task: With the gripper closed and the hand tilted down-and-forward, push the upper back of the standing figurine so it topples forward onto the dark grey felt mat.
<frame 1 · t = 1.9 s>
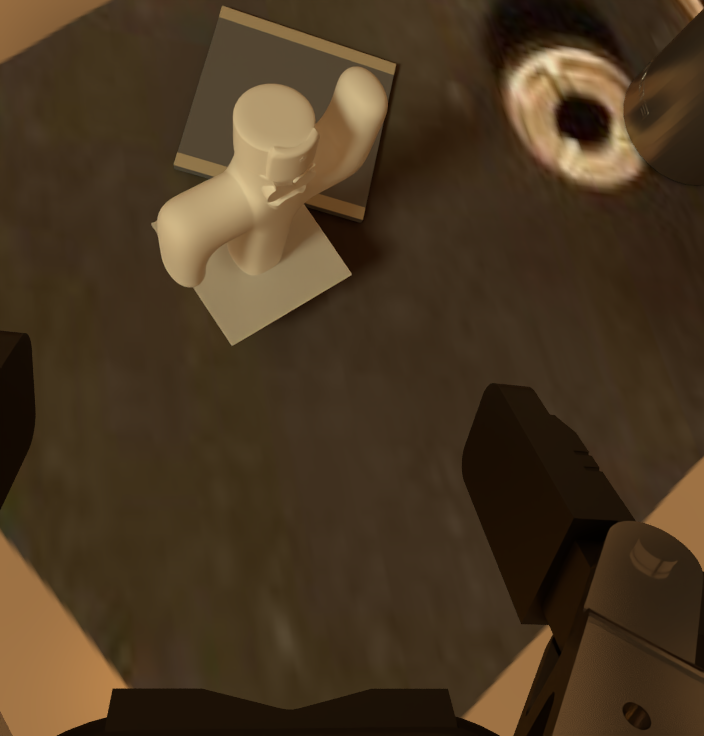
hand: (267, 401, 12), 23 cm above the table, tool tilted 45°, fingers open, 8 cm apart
figurine: (249, 276, 36), on the table
felt mat: (290, 115, 39), on the table
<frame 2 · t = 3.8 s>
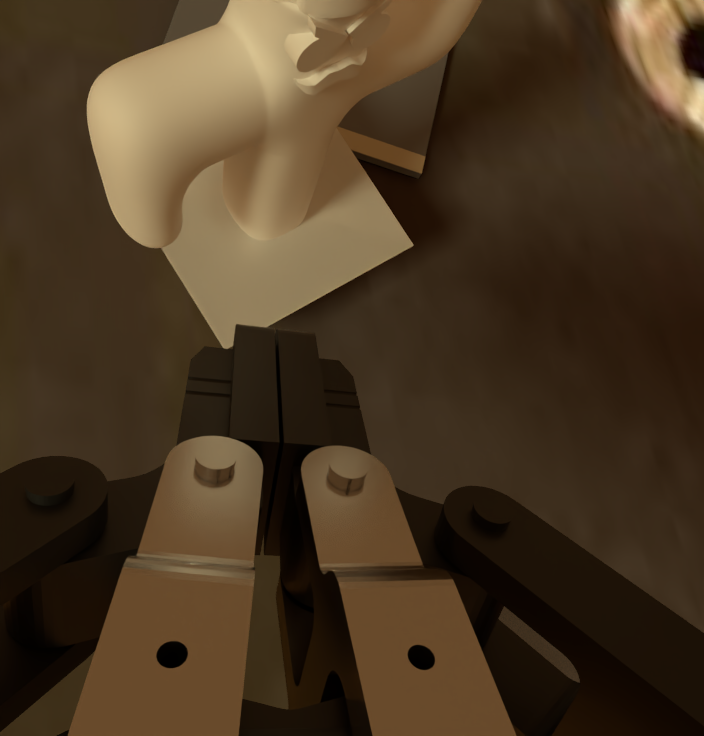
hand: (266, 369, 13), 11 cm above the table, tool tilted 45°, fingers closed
figurine: (255, 249, 25), on the table
felt mat: (320, 25, 27), on the table
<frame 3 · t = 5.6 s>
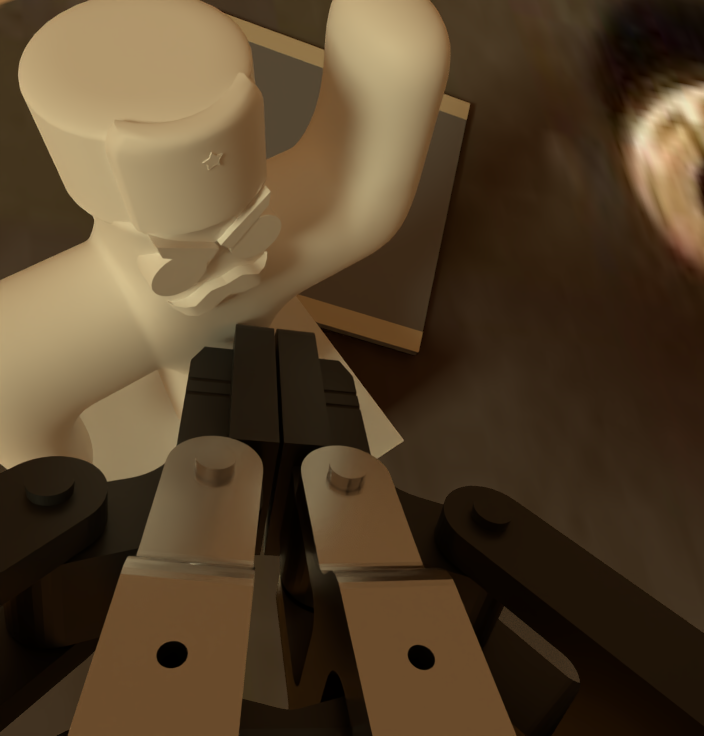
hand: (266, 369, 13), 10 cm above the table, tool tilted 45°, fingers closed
figurine: (232, 447, 21), on the table, touching gripper
felt mat: (307, 180, 25), on the table
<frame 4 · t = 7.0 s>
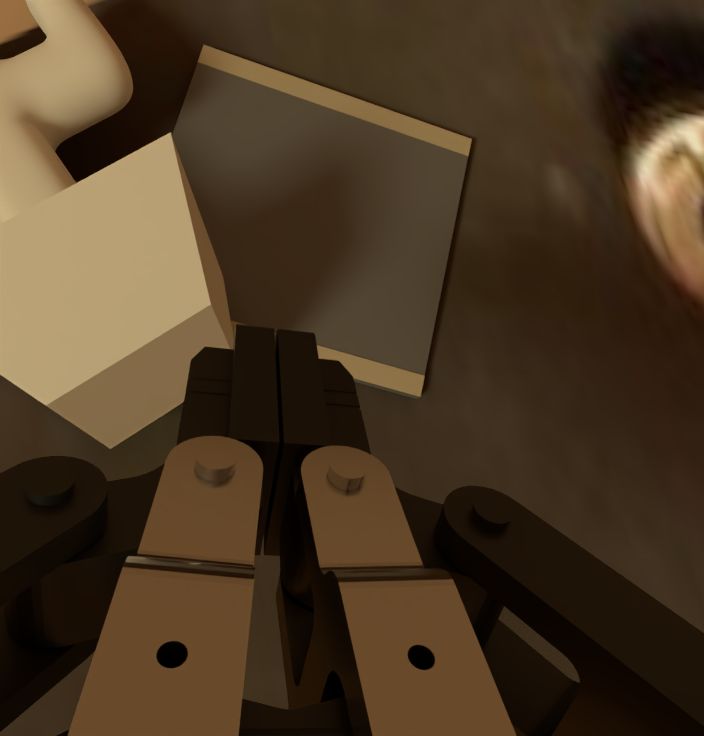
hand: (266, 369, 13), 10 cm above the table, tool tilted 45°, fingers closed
figurine: (159, 389, 17), point 5 cm above the table, touching felt mat
felt mat: (307, 221, 24), on the table
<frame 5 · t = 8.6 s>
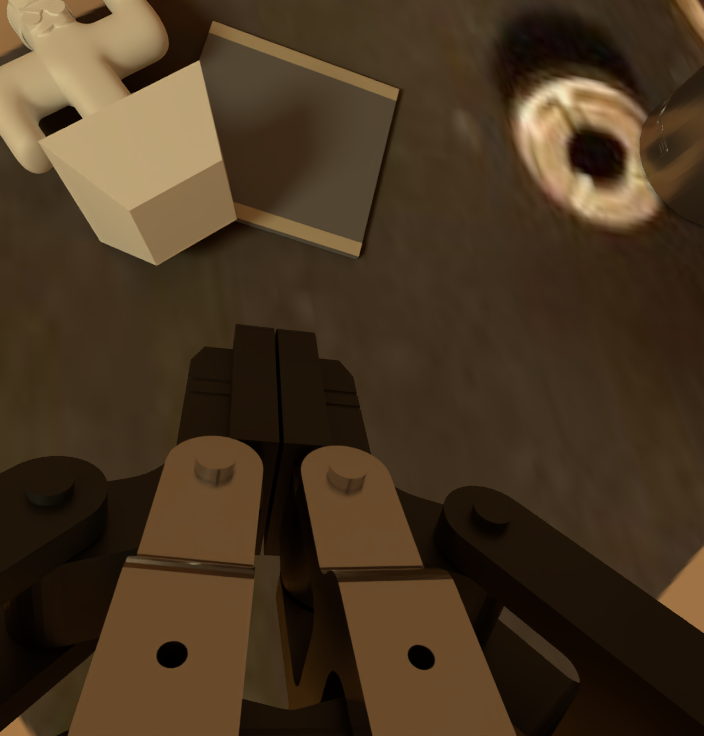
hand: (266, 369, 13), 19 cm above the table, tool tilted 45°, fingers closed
figurine: (190, 218, 28), point 5 cm above the table, touching felt mat
felt mat: (283, 140, 36), on the table
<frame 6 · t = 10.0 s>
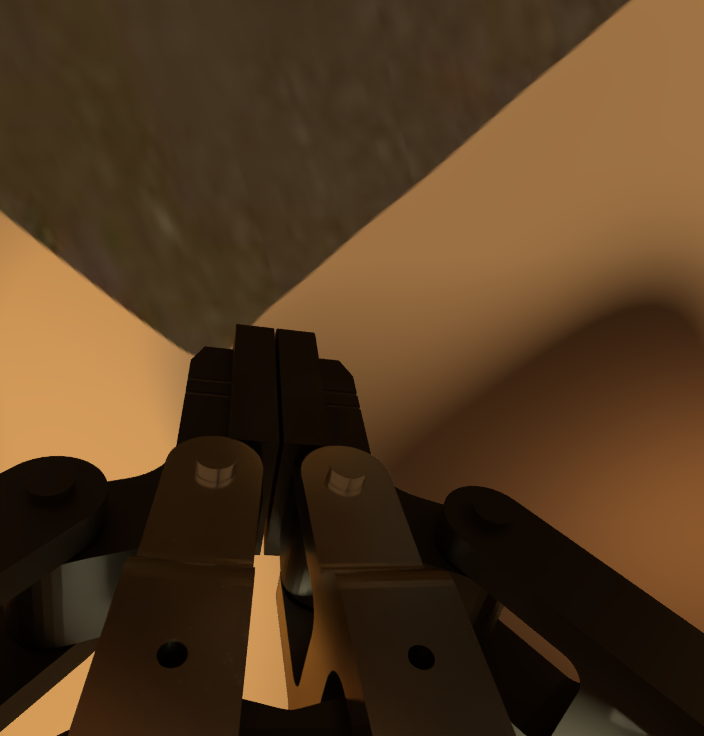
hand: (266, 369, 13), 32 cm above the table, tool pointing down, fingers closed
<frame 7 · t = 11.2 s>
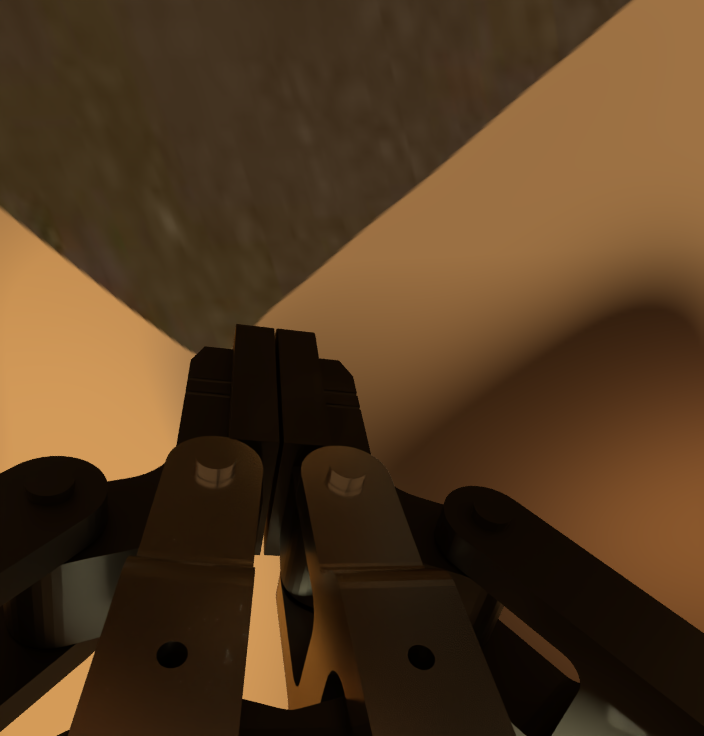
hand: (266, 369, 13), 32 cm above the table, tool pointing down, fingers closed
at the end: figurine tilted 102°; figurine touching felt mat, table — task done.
